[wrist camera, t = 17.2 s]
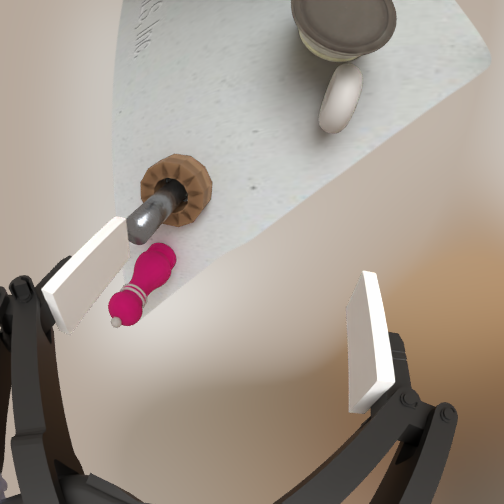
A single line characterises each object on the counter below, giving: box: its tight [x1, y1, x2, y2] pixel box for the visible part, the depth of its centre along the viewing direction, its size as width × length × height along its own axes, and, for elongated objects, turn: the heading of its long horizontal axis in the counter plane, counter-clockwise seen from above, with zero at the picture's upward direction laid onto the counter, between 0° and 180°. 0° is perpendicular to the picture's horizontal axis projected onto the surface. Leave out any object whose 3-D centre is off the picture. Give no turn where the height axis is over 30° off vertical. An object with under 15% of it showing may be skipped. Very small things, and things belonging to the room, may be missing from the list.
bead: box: [141, 154, 212, 227], centre depth 47 cm, size 11×11×4 cm
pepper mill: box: [108, 243, 176, 328], centre depth 50 cm, size 7×7×20 cm
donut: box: [318, 63, 363, 134], centre depth 32 cm, size 10×4×10 cm, turn 164°
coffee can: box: [291, 0, 397, 62], centre depth 25 cm, size 10×10×14 cm
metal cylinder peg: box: [126, 178, 188, 245], centre depth 42 cm, size 4×4×16 cm
